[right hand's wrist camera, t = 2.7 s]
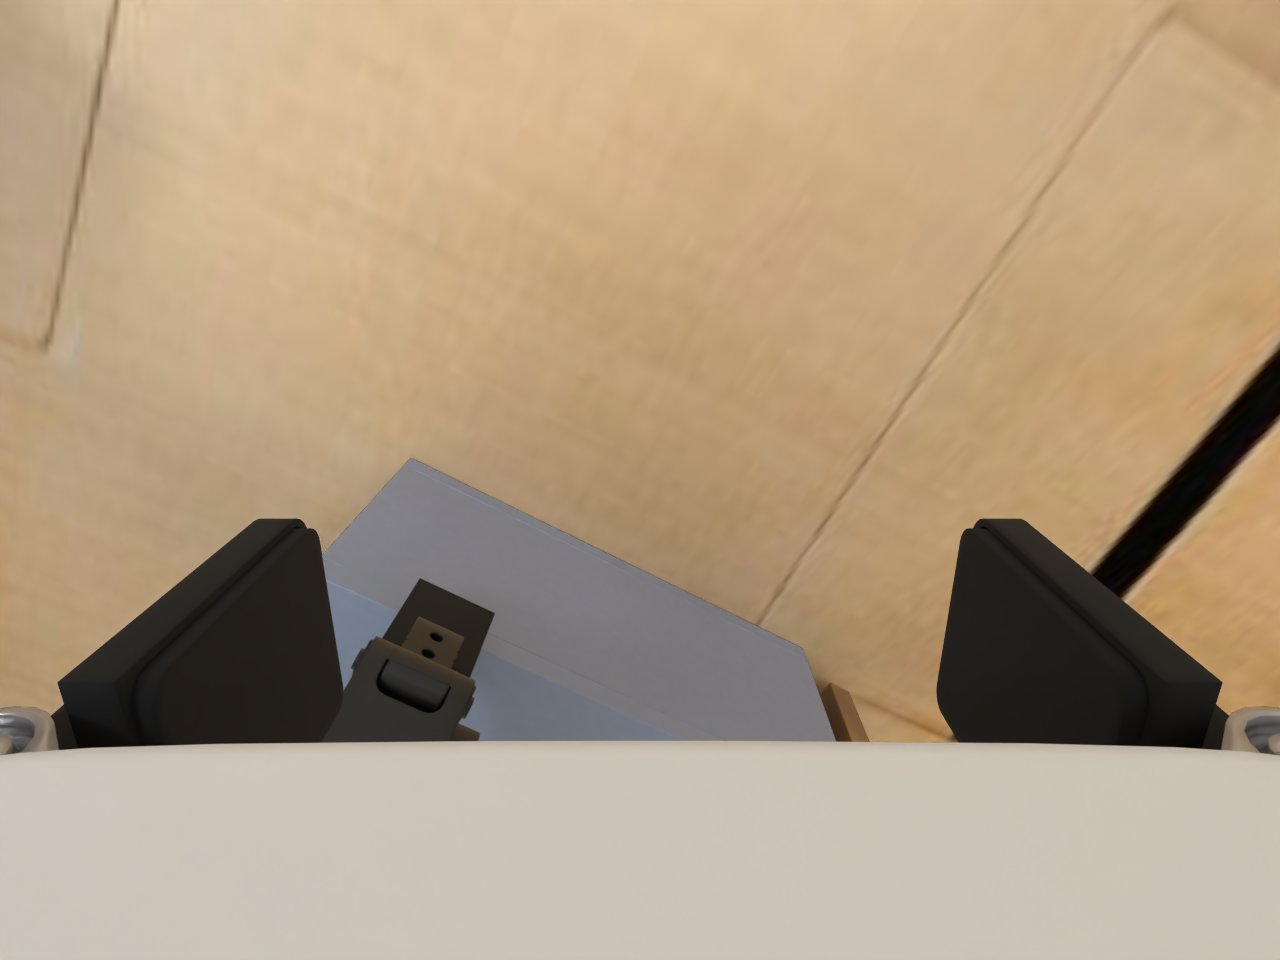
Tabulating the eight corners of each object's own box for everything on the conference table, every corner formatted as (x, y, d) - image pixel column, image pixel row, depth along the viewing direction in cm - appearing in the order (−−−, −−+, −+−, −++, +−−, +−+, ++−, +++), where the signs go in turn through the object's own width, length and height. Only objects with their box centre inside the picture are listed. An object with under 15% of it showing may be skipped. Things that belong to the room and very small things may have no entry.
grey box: (803, 648, 39) (865, 822, 28) (693, 800, 42) (711, 1008, 31) (410, 456, 35) (306, 571, 24) (326, 640, 39) (202, 812, 28)
